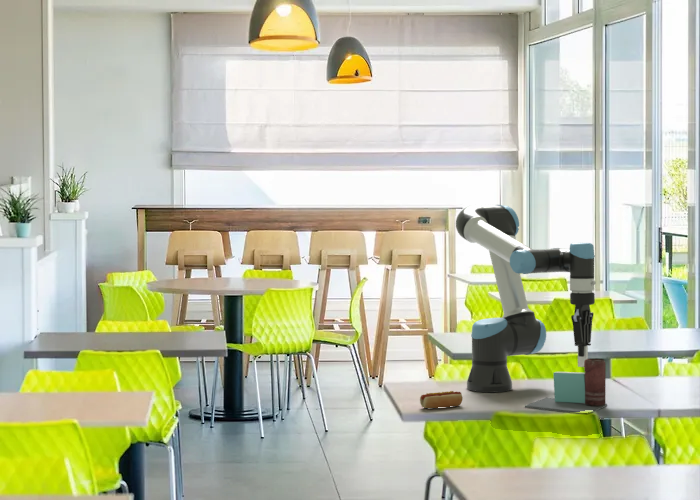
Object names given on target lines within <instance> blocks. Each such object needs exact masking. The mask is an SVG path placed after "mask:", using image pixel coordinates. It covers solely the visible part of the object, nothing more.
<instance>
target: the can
mask: <svg viewBox="0 0 700 500" xmlns="http://www.w3.org/2000/svg"><path fill="white" fill-rule="evenodd" d="M583 368H584V373H585V404H586V405H587V406H592V407H601V406H604V405H605V403H606V380H607V379H606V361H605V359H604V358H588V359H586V360H585V361H584V367H583Z"/></svg>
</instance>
